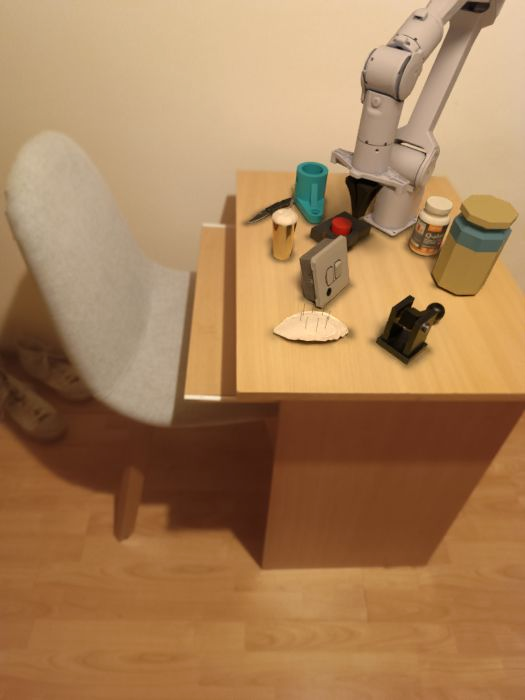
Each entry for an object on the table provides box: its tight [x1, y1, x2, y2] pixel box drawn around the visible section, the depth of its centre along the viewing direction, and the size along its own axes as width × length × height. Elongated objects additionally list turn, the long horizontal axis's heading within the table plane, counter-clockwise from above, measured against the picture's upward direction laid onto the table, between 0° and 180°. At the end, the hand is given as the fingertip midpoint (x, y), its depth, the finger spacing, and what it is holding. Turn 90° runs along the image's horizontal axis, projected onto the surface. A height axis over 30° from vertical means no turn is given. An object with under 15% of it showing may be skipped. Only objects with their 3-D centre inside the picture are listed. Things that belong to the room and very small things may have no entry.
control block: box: [309, 210, 372, 249], centre depth 90 cm, size 11×9×4 cm
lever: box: [398, 302, 446, 331], centre depth 72 cm, size 12×3×3 cm, turn 132°
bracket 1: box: [293, 161, 329, 224], centre depth 96 cm, size 6×12×7 cm, turn 6°
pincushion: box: [273, 298, 350, 342], centre depth 72 cm, size 12×6×6 cm, turn 93°
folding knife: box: [247, 197, 295, 224], centre depth 97 cm, size 13×1×2 cm
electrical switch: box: [298, 235, 350, 308], centre depth 78 cm, size 9×5×9 cm, turn 141°
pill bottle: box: [409, 195, 454, 257], centre depth 87 cm, size 6×6×10 cm
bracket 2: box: [375, 294, 438, 365], centre depth 70 cm, size 5×6×8 cm
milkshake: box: [271, 198, 299, 261], centre depth 84 cm, size 4×5×10 cm
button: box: [331, 217, 352, 236], centre depth 87 cm, size 4×4×2 cm
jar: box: [431, 194, 520, 295], centre depth 79 cm, size 9×9×15 cm
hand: (358, 215), depth 82 cm, fingers closed
